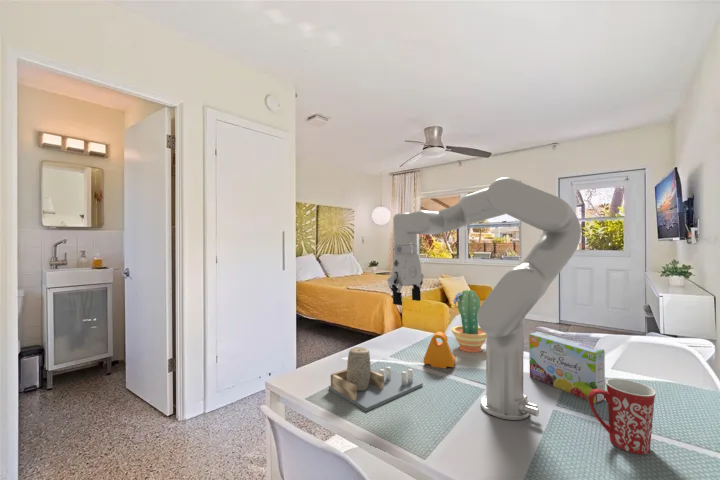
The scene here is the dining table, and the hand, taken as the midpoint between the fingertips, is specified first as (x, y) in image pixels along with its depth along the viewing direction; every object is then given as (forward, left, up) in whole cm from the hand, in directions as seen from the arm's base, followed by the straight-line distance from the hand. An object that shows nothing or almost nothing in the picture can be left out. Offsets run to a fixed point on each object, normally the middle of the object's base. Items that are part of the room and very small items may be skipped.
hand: (407, 302), depth 111 cm
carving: (+6, +16, -26) cm, 31 cm away
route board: (+4, +11, -26) cm, 29 cm away
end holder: (+6, +17, -25) cm, 31 cm away
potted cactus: (+5, -45, -27) cm, 53 cm away
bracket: (+3, -21, -27) cm, 34 cm away
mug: (-54, -12, -27) cm, 62 cm away
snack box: (-35, -34, -27) cm, 56 cm away
